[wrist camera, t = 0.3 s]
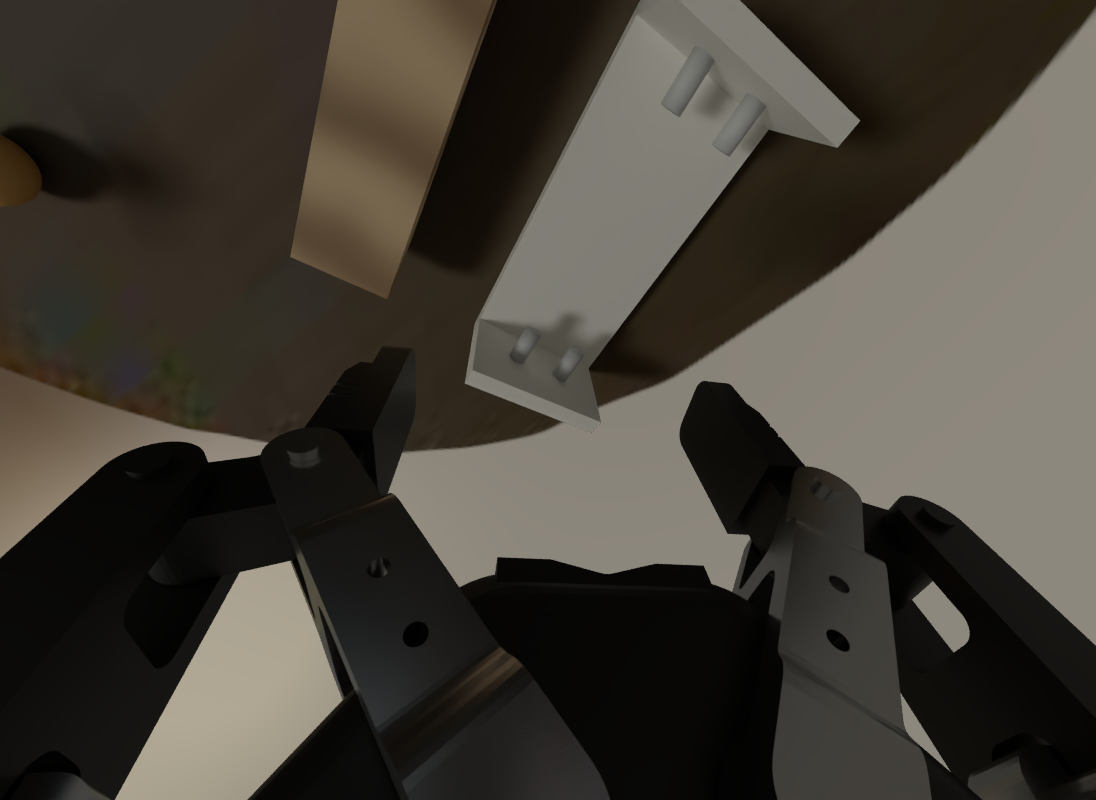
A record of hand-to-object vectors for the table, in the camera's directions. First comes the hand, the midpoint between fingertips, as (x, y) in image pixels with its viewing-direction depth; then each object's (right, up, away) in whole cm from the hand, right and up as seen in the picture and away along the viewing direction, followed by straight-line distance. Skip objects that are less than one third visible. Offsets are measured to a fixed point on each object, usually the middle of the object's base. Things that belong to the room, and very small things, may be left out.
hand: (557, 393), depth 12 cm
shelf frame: (+4, +12, +17) cm, 21 cm away
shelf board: (-8, +15, +10) cm, 20 cm away
